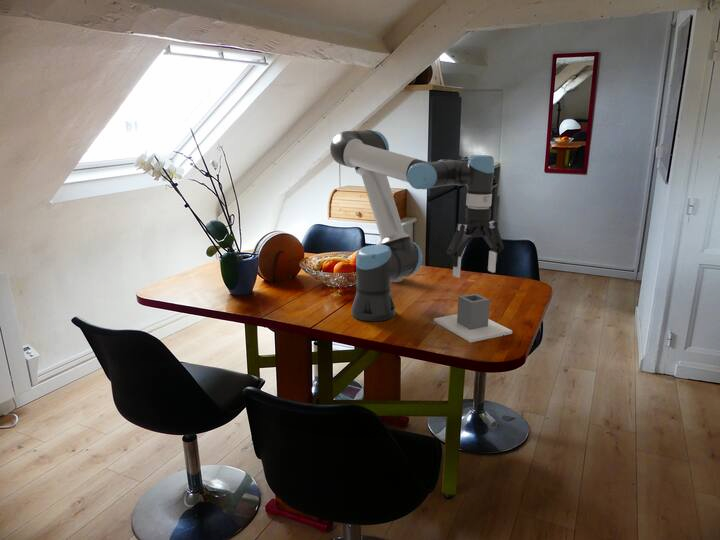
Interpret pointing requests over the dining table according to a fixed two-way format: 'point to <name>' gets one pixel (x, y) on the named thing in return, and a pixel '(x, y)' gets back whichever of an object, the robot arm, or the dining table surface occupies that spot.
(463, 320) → the block
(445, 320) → the base plate
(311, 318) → the dining table surface
